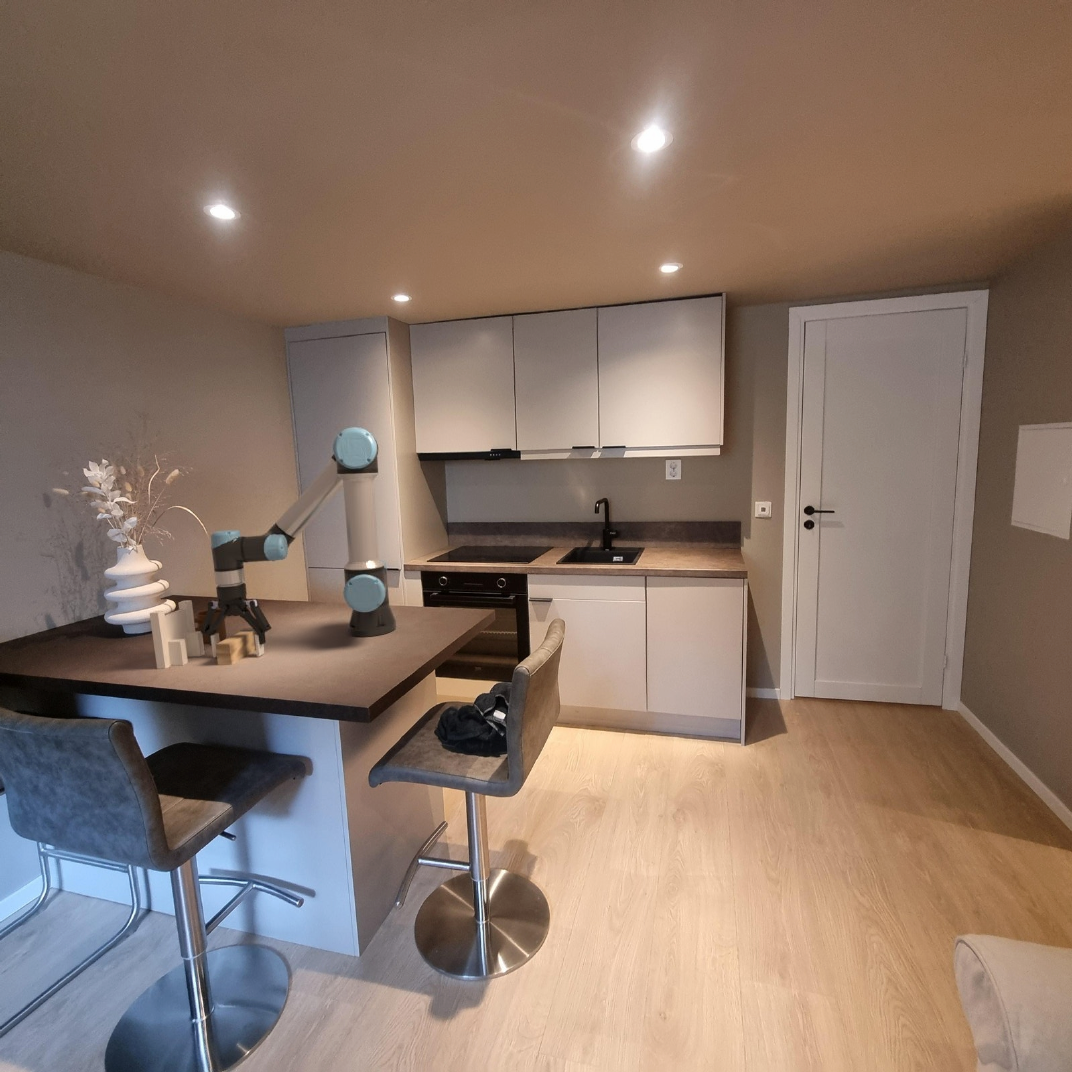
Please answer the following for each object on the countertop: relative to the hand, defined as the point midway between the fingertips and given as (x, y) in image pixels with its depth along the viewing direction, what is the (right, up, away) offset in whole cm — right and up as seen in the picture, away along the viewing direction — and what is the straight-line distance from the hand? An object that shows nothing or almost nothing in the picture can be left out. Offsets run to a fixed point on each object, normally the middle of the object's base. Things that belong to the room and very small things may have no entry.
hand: (238, 655), depth 166 cm
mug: (-18, +1, +15) cm, 24 cm away
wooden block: (0, 0, 0) cm, 0 cm away
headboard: (-15, -1, -1) cm, 15 cm away
